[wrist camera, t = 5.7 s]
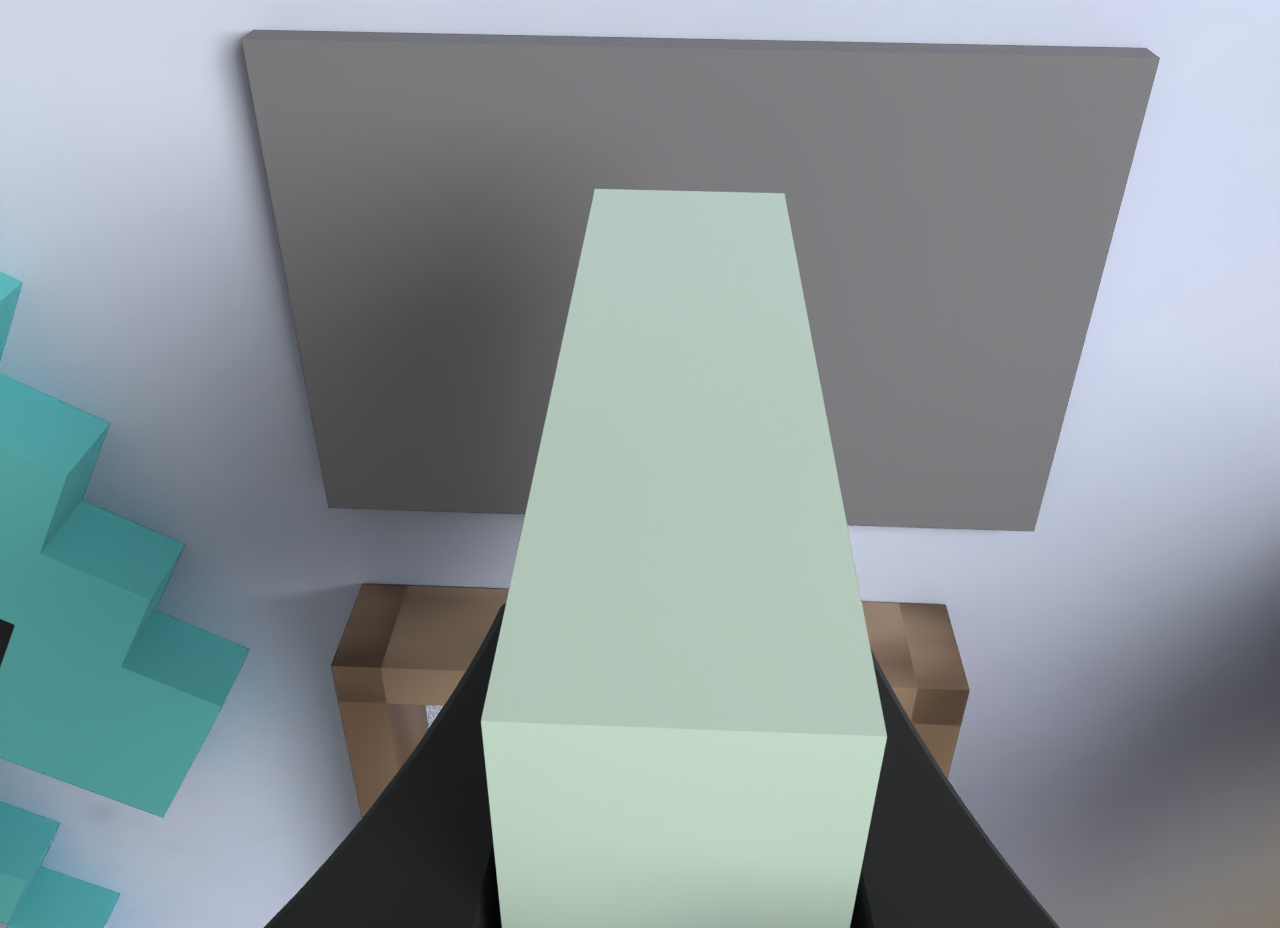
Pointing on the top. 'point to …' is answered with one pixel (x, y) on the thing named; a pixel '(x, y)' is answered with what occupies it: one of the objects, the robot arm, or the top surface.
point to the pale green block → (683, 598)
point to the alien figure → (85, 648)
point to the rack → (461, 617)
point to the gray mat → (694, 161)
